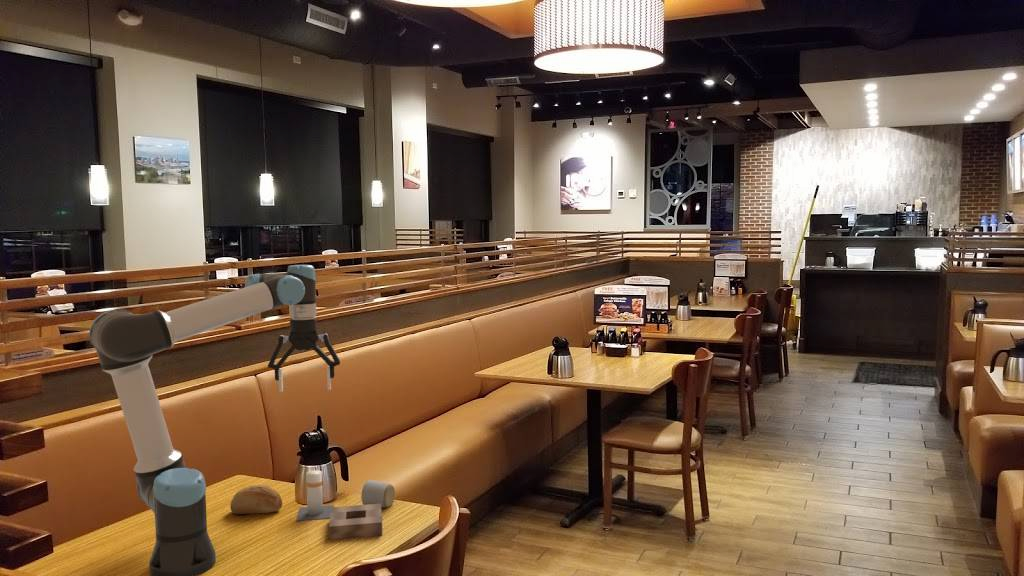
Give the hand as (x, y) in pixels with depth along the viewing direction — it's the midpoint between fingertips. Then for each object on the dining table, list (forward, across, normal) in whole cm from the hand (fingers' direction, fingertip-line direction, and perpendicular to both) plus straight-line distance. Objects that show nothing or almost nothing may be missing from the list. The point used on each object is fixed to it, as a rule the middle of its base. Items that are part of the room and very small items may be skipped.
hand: (305, 390), depth 216 cm
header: (+37, +14, -15) cm, 42 cm away
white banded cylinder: (+36, +2, -2) cm, 36 cm away
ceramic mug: (+37, +21, +2) cm, 42 cm away
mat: (+37, +2, -2) cm, 37 cm away
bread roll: (+37, -16, +3) cm, 40 cm away
